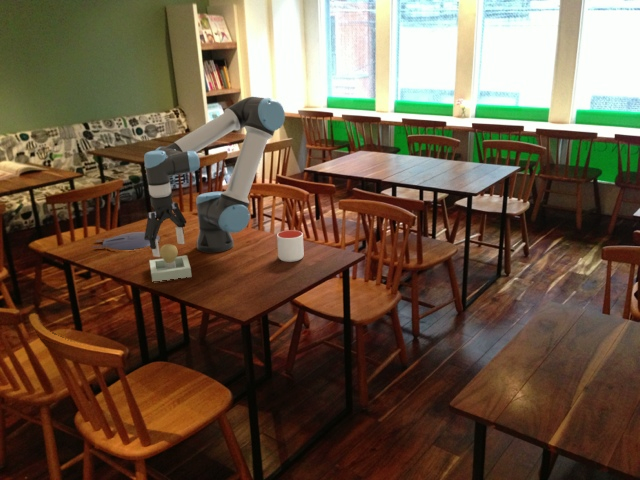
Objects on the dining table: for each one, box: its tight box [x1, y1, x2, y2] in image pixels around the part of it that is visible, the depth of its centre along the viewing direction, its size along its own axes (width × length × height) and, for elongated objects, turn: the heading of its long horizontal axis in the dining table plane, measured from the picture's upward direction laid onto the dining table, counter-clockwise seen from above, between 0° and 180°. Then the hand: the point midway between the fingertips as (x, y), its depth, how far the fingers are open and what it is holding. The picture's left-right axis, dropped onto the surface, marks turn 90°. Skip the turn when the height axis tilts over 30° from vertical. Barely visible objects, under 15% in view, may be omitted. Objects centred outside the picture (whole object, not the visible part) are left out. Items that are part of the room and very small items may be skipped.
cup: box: [276, 229, 305, 263], centre depth 228 cm, size 10×10×10 cm
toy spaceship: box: [91, 231, 161, 250], centre depth 253 cm, size 28×24×3 cm
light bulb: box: [159, 243, 179, 270], centre depth 218 cm, size 6×6×10 cm
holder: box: [149, 255, 193, 282], centre depth 219 cm, size 14×14×4 cm
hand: (169, 249), depth 217 cm, fingers open, 13 cm apart
